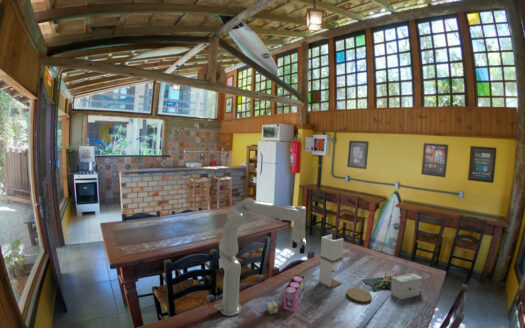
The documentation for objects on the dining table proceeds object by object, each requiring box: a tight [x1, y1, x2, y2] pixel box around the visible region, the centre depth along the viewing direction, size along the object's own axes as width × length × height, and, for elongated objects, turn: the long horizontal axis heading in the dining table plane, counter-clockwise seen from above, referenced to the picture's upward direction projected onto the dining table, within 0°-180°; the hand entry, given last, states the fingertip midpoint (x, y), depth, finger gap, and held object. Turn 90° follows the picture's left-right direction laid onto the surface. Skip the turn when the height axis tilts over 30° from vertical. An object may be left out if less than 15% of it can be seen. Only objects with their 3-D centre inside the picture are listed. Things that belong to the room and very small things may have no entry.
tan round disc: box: [345, 287, 373, 305], centre depth 180 cm, size 16×16×3 cm
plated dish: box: [361, 272, 397, 293], centre depth 199 cm, size 35×28×7 cm
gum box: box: [282, 274, 305, 313], centre depth 172 cm, size 22×7×13 cm, turn 156°
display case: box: [318, 233, 344, 290], centre depth 195 cm, size 11×11×35 cm
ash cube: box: [266, 300, 279, 315], centre depth 162 cm, size 4×4×4 cm
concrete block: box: [390, 270, 423, 300], centre depth 185 cm, size 21×8×20 cm, turn 111°
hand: (298, 250), depth 178 cm, fingers open, 9 cm apart
